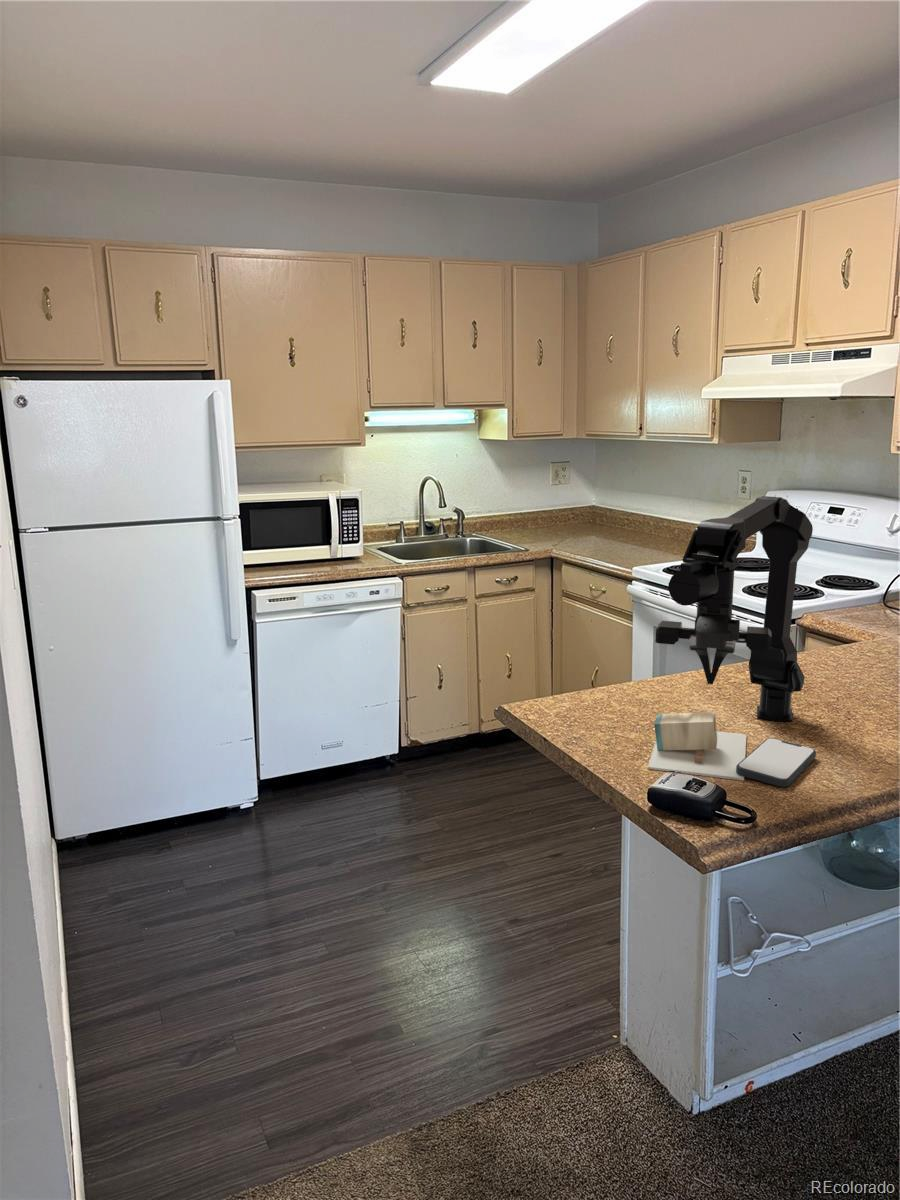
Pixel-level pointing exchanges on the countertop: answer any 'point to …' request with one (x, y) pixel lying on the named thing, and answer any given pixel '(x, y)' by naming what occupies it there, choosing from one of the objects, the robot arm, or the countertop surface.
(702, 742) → the birch block
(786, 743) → the phone case
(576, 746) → the countertop surface
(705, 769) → the grey mat
